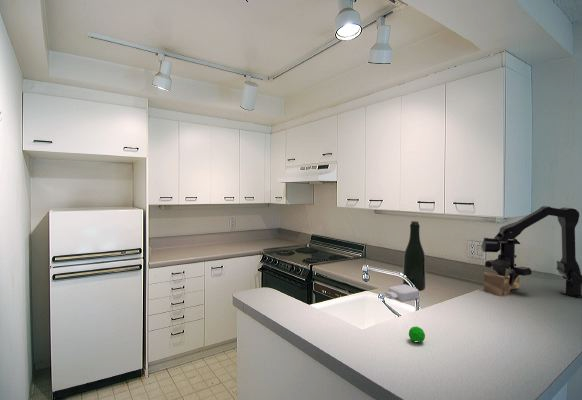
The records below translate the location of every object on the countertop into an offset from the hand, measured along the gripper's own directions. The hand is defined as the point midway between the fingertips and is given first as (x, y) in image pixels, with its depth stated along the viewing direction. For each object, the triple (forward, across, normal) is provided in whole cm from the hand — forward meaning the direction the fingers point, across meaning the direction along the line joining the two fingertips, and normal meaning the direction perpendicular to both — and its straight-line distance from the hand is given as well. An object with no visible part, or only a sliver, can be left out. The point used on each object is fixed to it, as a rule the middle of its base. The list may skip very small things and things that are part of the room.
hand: (506, 285), depth 156 cm
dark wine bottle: (+2, -21, -37) cm, 43 cm away
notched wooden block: (+2, 0, -7) cm, 8 cm away
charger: (+3, -13, -54) cm, 56 cm away
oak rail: (+2, 0, 0) cm, 2 cm away
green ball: (+2, +20, -76) cm, 79 cm away
